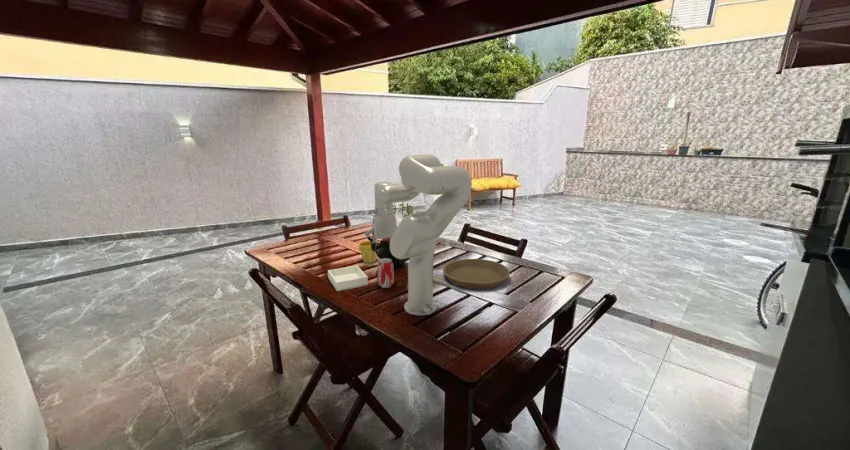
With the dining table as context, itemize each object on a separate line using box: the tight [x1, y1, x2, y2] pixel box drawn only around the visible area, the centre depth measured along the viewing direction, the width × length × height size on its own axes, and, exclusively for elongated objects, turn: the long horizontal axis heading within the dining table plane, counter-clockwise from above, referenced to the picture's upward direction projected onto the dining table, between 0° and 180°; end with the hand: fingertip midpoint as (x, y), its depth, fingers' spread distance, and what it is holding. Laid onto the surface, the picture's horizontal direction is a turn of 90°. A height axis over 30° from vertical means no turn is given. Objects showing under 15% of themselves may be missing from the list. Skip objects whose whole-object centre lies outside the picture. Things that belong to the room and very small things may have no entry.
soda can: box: [377, 257, 395, 289], centre depth 155 cm, size 7×7×12 cm
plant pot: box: [358, 240, 378, 264], centre depth 187 cm, size 10×10×10 cm
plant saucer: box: [442, 258, 511, 290], centre depth 166 cm, size 31×31×5 cm
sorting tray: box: [327, 265, 369, 292], centre depth 160 cm, size 16×14×4 cm
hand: (384, 249), depth 153 cm, fingers open, 9 cm apart
